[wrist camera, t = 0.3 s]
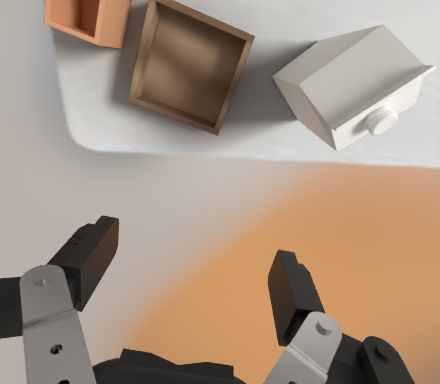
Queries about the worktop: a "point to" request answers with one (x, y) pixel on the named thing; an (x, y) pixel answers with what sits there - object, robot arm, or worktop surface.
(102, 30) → the terracotta crate
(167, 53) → the walnut crate
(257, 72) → the worktop surface
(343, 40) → the milk carton
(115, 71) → the worktop surface
